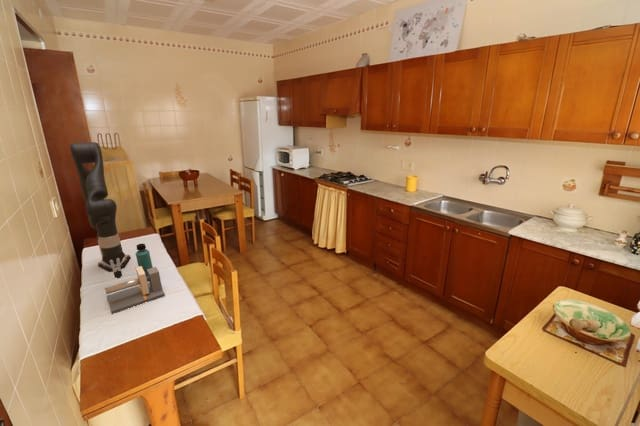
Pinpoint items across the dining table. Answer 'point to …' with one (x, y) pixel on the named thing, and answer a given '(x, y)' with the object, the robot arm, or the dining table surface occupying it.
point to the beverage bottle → (143, 258)
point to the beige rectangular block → (142, 280)
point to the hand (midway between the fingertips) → (118, 277)
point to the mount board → (137, 294)
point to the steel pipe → (124, 285)
